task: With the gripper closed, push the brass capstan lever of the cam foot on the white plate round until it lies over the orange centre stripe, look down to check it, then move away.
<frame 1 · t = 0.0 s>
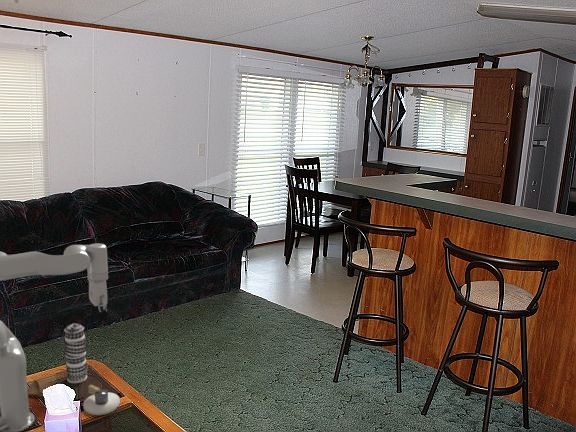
hand: (99, 316, 217), 37 cm above the table, tool pointing down, fingers open, 9 cm apart
white plate: (101, 405, 223), on the table
sunglasses case: (47, 395, 229), on the table
decorative candle: (77, 378, 241), on the table
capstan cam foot: (97, 394, 223), point 4 cm above the table, hinge at 35.0°
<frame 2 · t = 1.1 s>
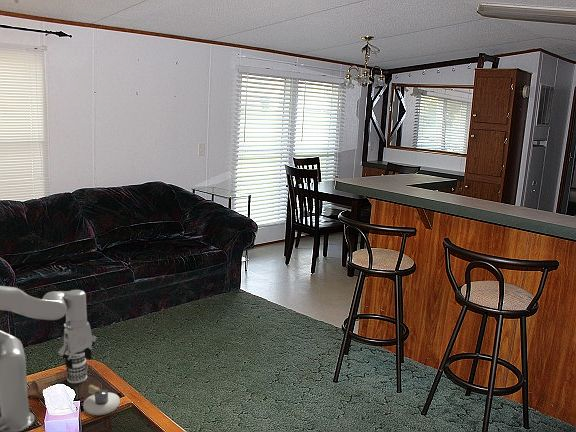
hand: (78, 362, 215), 20 cm above the table, tool pointing down, fingers open, 8 cm apart
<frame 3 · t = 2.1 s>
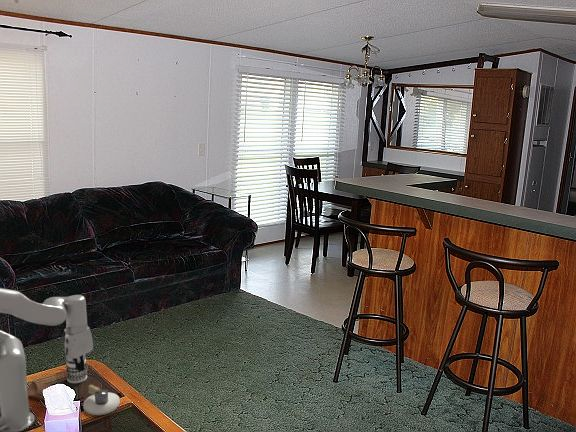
hand: (80, 369, 216), 17 cm above the table, tool pointing down, fingers closed
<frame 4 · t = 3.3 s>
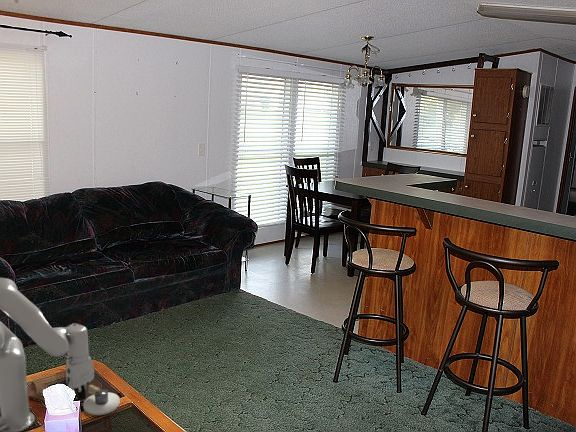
hand: (81, 398, 219), 4 cm above the table, tool pointing down, fingers closed
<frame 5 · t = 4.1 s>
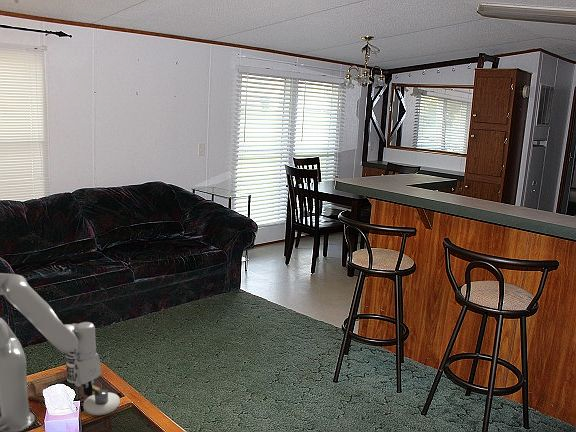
hand: (88, 394, 222), 4 cm above the table, tool pointing down, fingers closed
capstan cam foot: (97, 394, 223), point 4 cm above the table, hinge at 34.0°, touching gripper
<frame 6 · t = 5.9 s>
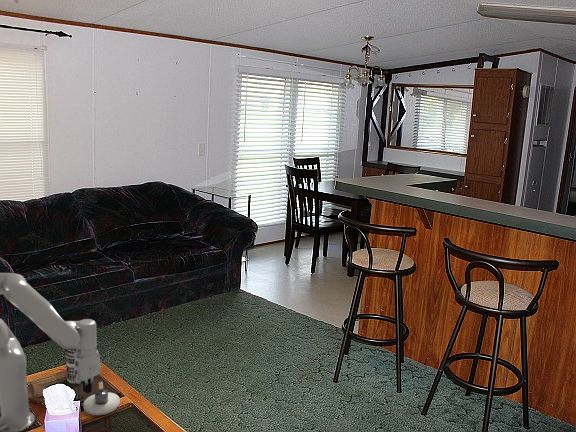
hand: (87, 391, 222), 5 cm above the table, tool pointing down, fingers closed
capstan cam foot: (101, 393, 224), point 4 cm above the table, hinge at -2.9°
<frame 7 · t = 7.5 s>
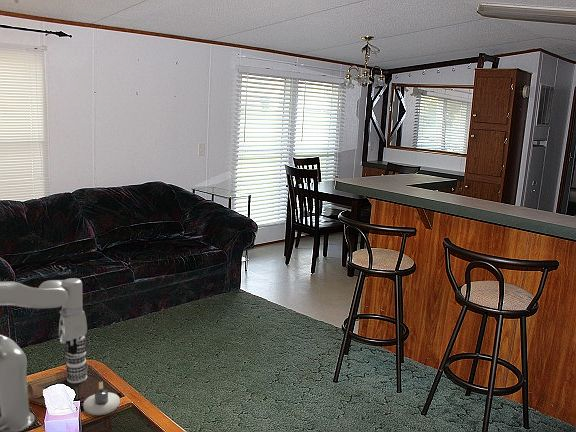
hand: (72, 352, 219), 22 cm above the table, tool pointing down, fingers closed
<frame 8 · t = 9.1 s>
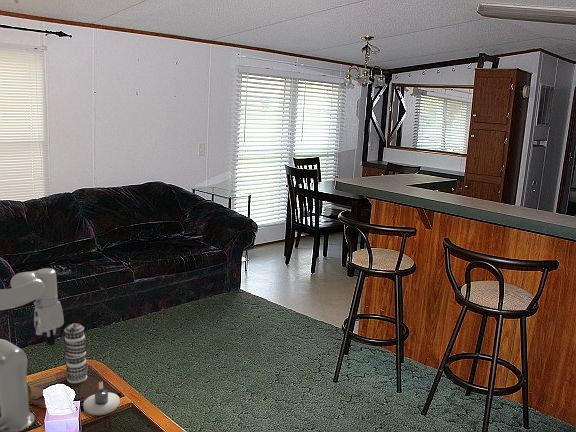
hand: (50, 344, 214), 27 cm above the table, tool pointing down, fingers closed
at the end: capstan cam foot at -3° (first picture: +35°); sunglasses case moved 4.9 cm from its start; decorative candle moved 0.2 cm from its start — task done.
